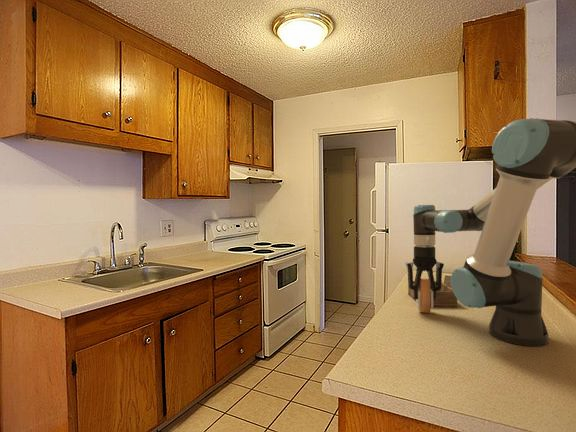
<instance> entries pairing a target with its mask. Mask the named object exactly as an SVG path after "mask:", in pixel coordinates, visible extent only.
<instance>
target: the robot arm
mask: <svg viewBox="0 0 576 432" xmlns="http://www.w3.org/2000/svg"><path fill="white" fill-rule="evenodd" d="M491 147H492V148H491V154H493V155H492V158H493V160H494V162H495V163H496V168H495V171H497V173H498V174H499V179H498V182H497V184H496V187H495V188H494V189H493V190H492V191H490V192H489V193H488V194H486V195H485V196H484V197H483V198H482V199H480V200H479V201H477V202H476V204H474V205H473V206H471V207H470V208H469V209H439V210H438V209H437V210H436V206H435V205H434V204H416V205H414V206H413V215H412V217H413V245H414V246H413V259H412V261H409V262H406V263H405V266H406V268H407V283H408V284H407V286H408V287H409V288H410V289H412V290H414V299H416V301H415V303H416V304H415V305H416V308H417V309H418V310H419V309H421V301H420V291H419V290H418V289H419V284H420V279H421V278H422V274H423V272H425V271H426V273H427V277H428V279H430V287H431V290H430V310H433V309H434V307H433V299H436V291H437V290H439V289H441V282H442V283H443V281H442V279H443V277H442V276H443V268H444V266H445V264H444V263H443V262H440V261H437V259H436V247H435V245H436V232H441V233H444V234H449V233H450V234H451V233H456V232H475V231H476V232H481V233H480V235H479V239H478V241H477V244H476V247H475V251H474V253H472V254H469V255H468V256H466V259H465V262H464V265H463V266H462V267H458V268H456V269H454V270H453V271H452V273H451V275H450V276H451V287H452V290H453V293H454V295H455V296H456V298H457V302H459V303H461V305H463V306H465V307H467V308H471V309H474V308H477V309H482V308H487V307H495V310H494V311H493V314H492V317H491V319H490V321H489V323H488V324H489V325H488V332H489V334H490V335H491V336H493V337H494V338H496V339H498V340H501V341H503V342H507V343H511V344H515V345H517V346H518V345H520V346H525V347H526V346H527V347H541V346H546V345H548V344H549V338H550V337H549V332H548V329H547V326H546V323H545V321H544V318H543V314H542V309H543V308H542V305H543V302H542V301H543V280H544V279H543V269H542V268H541V267H540V266H539V265H538V264H533V263H528V262H523V261H517V260H510V259H511V258H512V257H511V256H512V254H513V251H514V248H515V246H516V244H517V241H518V238H519V236H520V233H521V231H522V229H523V226H524V223H525V221H526V217H528V213H529V211H530V207H531V205H532V202H533V200H534V197H535V195H536V192H537V190H538V189H539V188H542V187H543V186H545V185H546V184H547V183H548V182H549V181H551V180H553V179H562V177H565V175H567V174H568V173H570V172H571V171H573V170H574V169H576V121H573V120H563V119H562V120H561V119H559V120H557V119H545V118H519V119H516V120H513V121H511V122H508V124H506V125H505V126H503V127H502V128H501V129H500V130H499V131H498V132H497V134H496V136H495V138H494V139H493V143H492V146H491ZM414 266H415V268H416V270H415V272H416V273H415V277H414V275H413V274H414V271H413V269H414ZM434 267H436V271H435V276H434V271H433V269H434ZM413 281H415V282H414V286H413ZM435 281H436V286H435ZM408 287H407V288H408ZM414 299H413V300H414Z"/></svg>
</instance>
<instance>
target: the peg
mask: <svg viewBox="0 0 576 432" xmlns="http://www.w3.org/2000/svg"><path fill="white" fill-rule="evenodd" d="M419 291H420V301H421V309H418V311H419V312H421V313H426V314H427V313H431V308H430V279H429V278H427V277H421V279H420V284H419Z"/></svg>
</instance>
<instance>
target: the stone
mask: <svg viewBox="0 0 576 432" xmlns="http://www.w3.org/2000/svg"><path fill="white" fill-rule="evenodd" d="M443 283H444V284H446V285H447V286H449V287H450V288H452V287H451V275H444V278H443Z"/></svg>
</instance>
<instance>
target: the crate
mask: <svg viewBox="0 0 576 432" xmlns="http://www.w3.org/2000/svg"><path fill="white" fill-rule="evenodd" d="M434 281H435V286H436V280H434ZM414 282H415V280H413V286H414ZM407 288H408V289H407V295H408V296H409V297H410V298H412V300H414V302H416V299H414V290H412V289H410V288H409V287H407ZM418 290H419V289H418ZM430 290H431V287H430ZM435 307H437V308H440V307H442V308H448V307H449V308H457V307H458V299H457V298H456V296H455V295H454V293H453V290H452V288H450V287H449V286H447V285H446V284H444V282H443V281H442V282H441V289H439V290H437V291H436V299H433V308H435Z"/></svg>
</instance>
